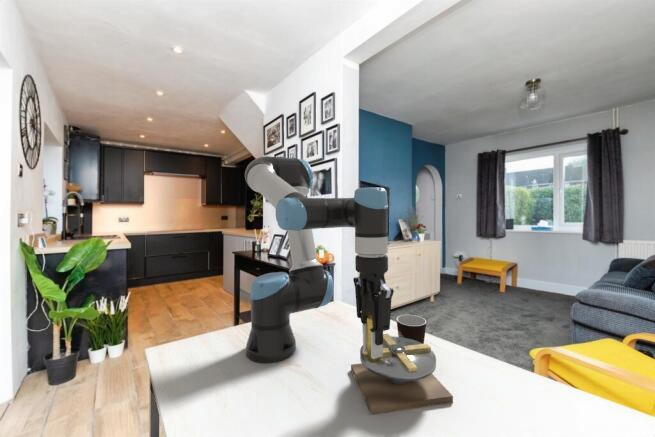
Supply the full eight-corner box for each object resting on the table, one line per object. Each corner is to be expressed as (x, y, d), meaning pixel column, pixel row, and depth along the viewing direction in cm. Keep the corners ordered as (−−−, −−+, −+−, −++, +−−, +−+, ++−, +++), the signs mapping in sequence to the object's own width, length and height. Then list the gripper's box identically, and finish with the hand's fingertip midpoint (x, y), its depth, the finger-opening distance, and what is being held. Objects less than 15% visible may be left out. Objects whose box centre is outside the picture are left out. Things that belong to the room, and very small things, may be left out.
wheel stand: (351, 369, 77) (350, 348, 77) (416, 362, 81) (416, 341, 80) (371, 414, 61) (371, 386, 60) (452, 402, 64) (452, 376, 64)
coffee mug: (428, 361, 81) (428, 327, 80) (397, 359, 83) (396, 325, 82) (423, 342, 92) (423, 312, 92) (395, 340, 94) (395, 310, 94)
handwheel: (352, 345, 78) (351, 303, 77) (413, 338, 81) (413, 298, 80) (374, 385, 60) (373, 331, 60) (452, 375, 63) (452, 324, 63)
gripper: (406, 258, 61) (407, 366, 62) (366, 249, 75) (367, 336, 76) (377, 261, 58) (378, 375, 59) (341, 251, 72) (343, 343, 73)
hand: (372, 353), depth 67 cm, fingers closed on handwheel, 3 cm apart
